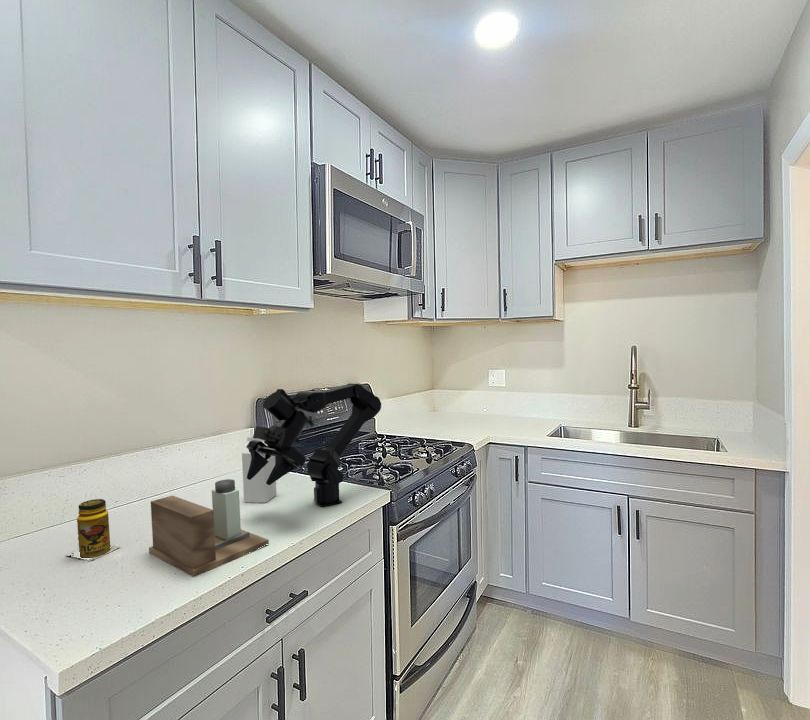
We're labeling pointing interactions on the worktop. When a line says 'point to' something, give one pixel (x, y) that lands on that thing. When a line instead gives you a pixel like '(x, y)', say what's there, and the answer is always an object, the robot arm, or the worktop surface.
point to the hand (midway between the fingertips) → (257, 481)
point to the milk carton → (257, 478)
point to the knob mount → (194, 537)
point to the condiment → (93, 529)
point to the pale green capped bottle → (226, 509)
